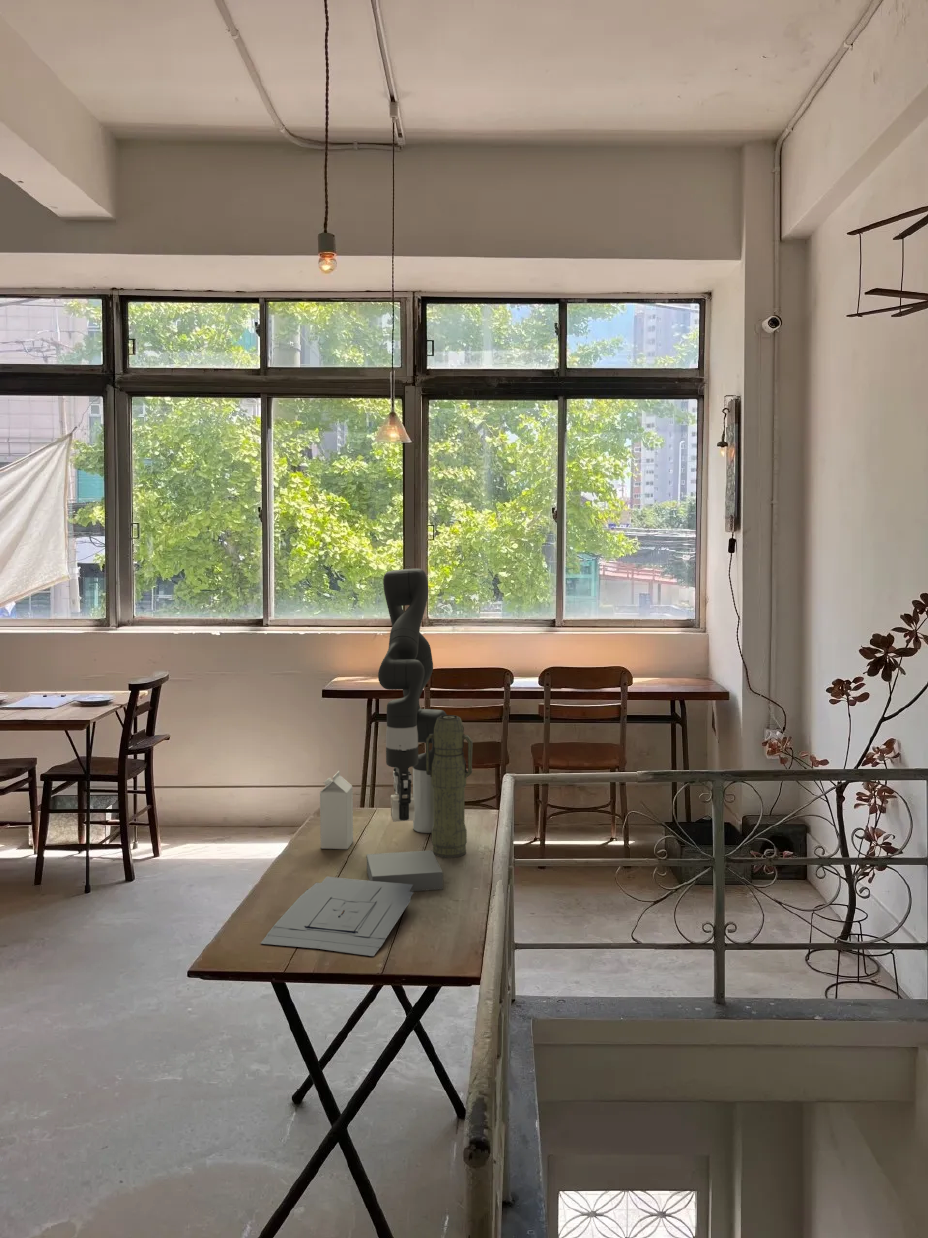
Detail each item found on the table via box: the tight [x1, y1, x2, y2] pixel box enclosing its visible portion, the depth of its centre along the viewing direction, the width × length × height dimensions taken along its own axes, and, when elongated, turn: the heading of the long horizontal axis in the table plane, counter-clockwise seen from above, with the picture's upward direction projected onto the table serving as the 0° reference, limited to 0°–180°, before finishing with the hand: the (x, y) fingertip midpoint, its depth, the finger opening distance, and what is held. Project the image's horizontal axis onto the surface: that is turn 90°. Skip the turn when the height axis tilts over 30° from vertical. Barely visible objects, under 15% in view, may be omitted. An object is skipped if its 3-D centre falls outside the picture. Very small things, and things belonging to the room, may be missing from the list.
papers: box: [260, 876, 415, 957], centre depth 205 cm, size 24×30×4 cm
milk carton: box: [319, 770, 354, 850], centre depth 256 cm, size 7×7×19 cm
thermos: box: [425, 714, 474, 859], centre depth 250 cm, size 9×12×35 cm
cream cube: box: [390, 793, 415, 823], centre depth 230 cm, size 5×5×5 cm
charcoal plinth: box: [366, 849, 444, 892], centre depth 231 cm, size 16×16×4 cm
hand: (402, 816), depth 230 cm, fingers closed on cream cube, 5 cm apart
